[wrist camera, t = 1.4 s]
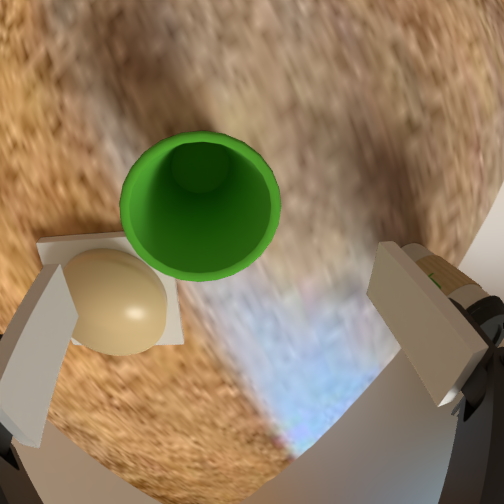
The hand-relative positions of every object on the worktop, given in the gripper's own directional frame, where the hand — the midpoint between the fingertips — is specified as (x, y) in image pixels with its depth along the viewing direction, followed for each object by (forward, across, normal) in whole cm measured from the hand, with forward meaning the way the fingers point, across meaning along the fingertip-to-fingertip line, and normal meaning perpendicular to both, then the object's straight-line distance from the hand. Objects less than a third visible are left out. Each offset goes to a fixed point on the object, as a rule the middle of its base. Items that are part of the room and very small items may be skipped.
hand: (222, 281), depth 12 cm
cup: (+17, -1, 0) cm, 17 cm away
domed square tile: (+17, -11, -12) cm, 24 cm away
